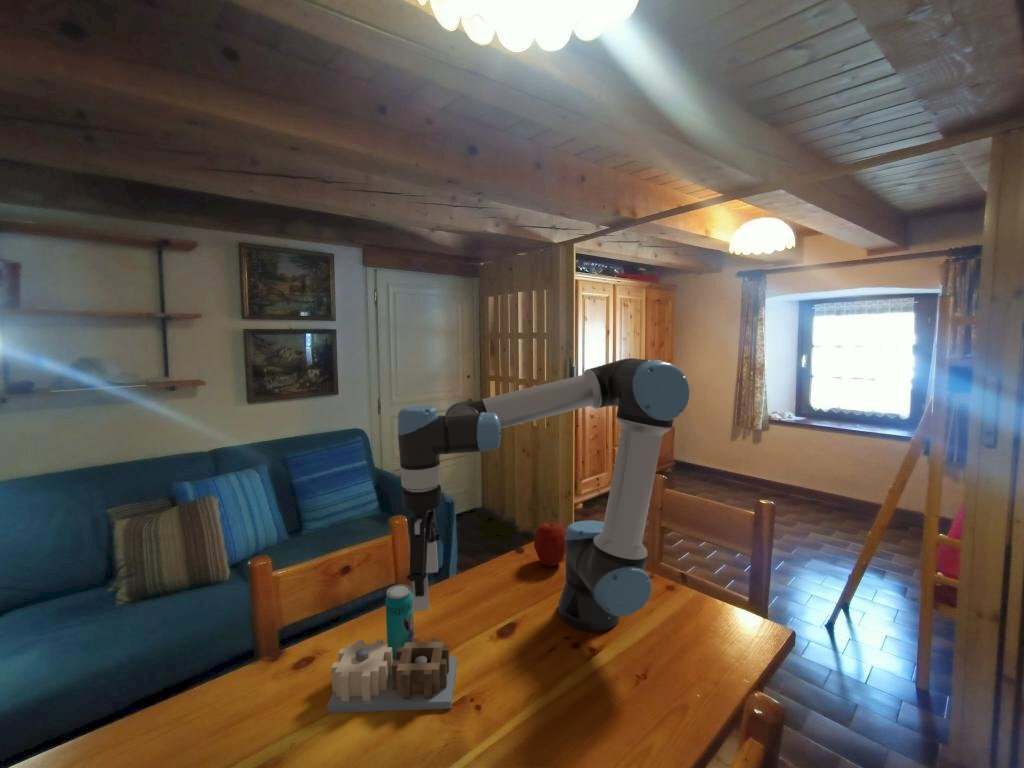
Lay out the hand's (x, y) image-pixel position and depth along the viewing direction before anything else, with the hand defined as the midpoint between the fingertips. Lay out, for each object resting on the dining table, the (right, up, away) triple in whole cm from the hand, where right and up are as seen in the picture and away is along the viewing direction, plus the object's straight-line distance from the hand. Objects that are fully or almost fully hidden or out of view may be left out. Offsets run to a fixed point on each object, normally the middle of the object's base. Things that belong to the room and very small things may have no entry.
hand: (426, 589), depth 92 cm
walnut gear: (-1, -18, 0) cm, 18 cm away
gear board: (-6, -20, +1) cm, 21 cm away
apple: (+29, -14, +49) cm, 59 cm away
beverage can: (-7, -19, +10) cm, 22 cm away
